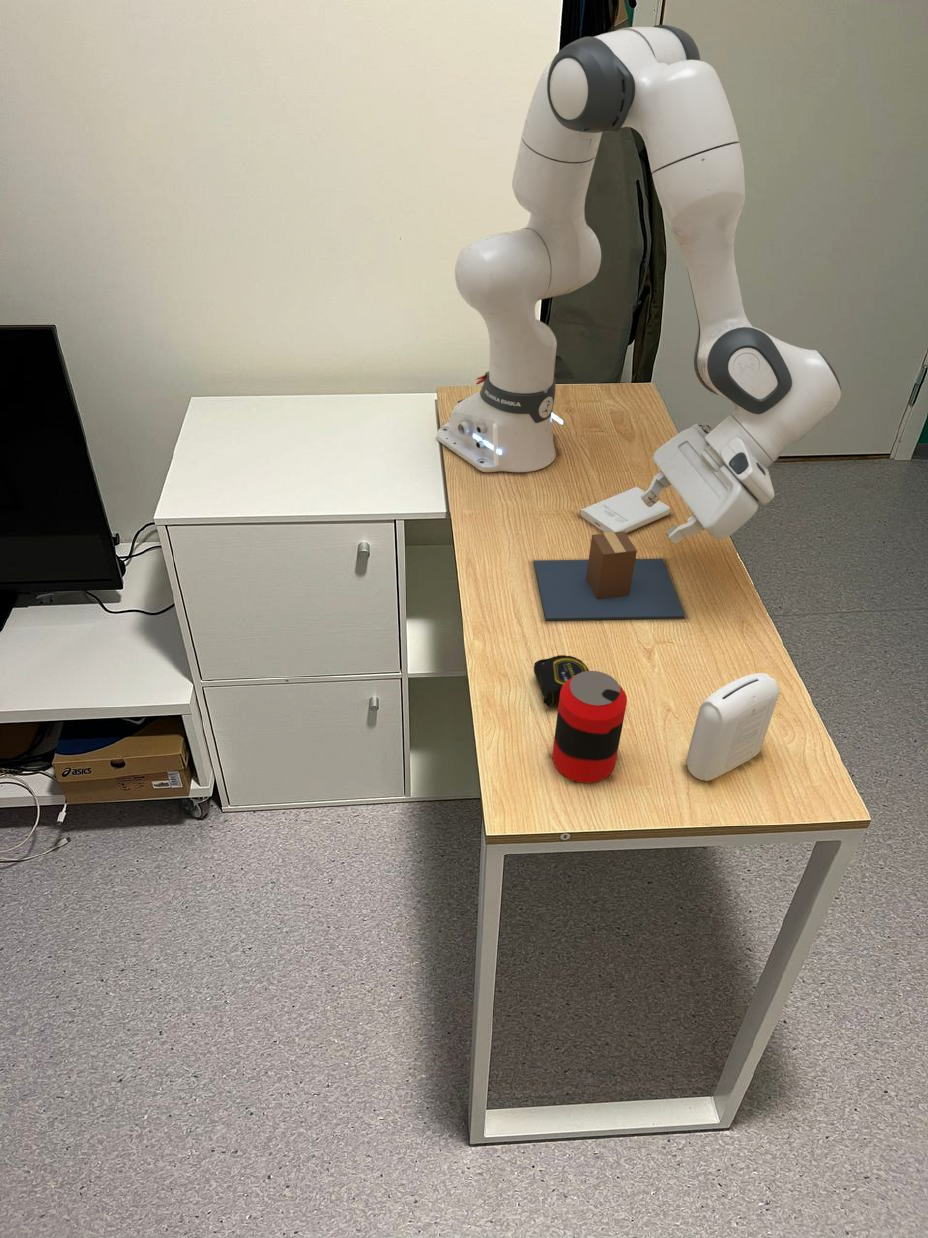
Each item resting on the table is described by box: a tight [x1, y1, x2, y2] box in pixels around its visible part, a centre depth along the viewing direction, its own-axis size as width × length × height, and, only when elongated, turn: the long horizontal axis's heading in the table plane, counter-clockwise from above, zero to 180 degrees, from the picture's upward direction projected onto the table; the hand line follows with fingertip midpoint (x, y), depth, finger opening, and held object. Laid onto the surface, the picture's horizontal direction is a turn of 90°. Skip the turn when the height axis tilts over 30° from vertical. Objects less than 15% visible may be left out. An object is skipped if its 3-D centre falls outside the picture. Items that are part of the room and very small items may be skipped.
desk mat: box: [533, 558, 686, 622], centre depth 142 cm, size 20×14×1 cm
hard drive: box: [579, 486, 671, 534], centre depth 157 cm, size 2×8×12 cm
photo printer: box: [685, 672, 780, 782], centre depth 112 cm, size 10×4×12 cm, turn 123°
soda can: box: [551, 670, 628, 784], centre depth 112 cm, size 8×8×12 cm
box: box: [586, 531, 638, 599], centre depth 139 cm, size 5×5×8 cm
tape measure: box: [533, 654, 590, 707], centre depth 124 cm, size 7×7×4 cm
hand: (656, 520), depth 136 cm, fingers open, 8 cm apart
